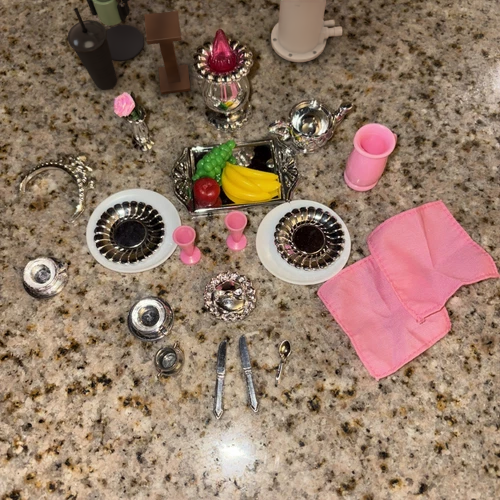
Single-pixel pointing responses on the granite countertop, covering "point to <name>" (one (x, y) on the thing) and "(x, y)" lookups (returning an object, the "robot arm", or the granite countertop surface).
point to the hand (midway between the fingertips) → (110, 12)
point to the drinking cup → (93, 51)
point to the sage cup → (107, 11)
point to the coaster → (124, 42)
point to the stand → (167, 50)
